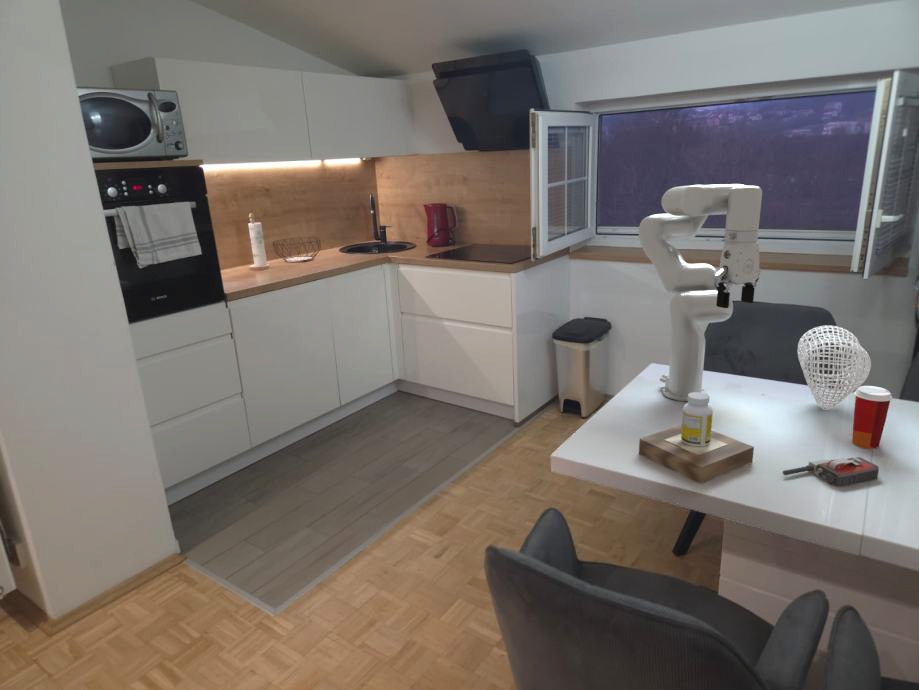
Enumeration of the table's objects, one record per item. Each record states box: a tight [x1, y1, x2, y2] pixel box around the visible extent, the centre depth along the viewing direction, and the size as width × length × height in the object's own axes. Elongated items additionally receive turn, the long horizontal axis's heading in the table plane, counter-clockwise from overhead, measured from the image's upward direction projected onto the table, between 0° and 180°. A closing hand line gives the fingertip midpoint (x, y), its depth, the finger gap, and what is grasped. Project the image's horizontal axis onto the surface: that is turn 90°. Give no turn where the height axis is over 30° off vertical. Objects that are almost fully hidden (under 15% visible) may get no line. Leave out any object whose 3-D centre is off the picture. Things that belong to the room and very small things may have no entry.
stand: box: [638, 424, 755, 484], centre depth 150 cm, size 18×18×4 cm
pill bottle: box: [681, 392, 714, 446], centre depth 147 cm, size 6×6×12 cm
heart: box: [796, 324, 872, 411], centre depth 173 cm, size 28×16×22 cm, turn 158°
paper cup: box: [851, 385, 893, 450], centre depth 153 cm, size 8×8×14 cm
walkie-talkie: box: [782, 456, 879, 488], centre depth 139 cm, size 9×4×20 cm
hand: (734, 304), depth 161 cm, fingers open, 9 cm apart
